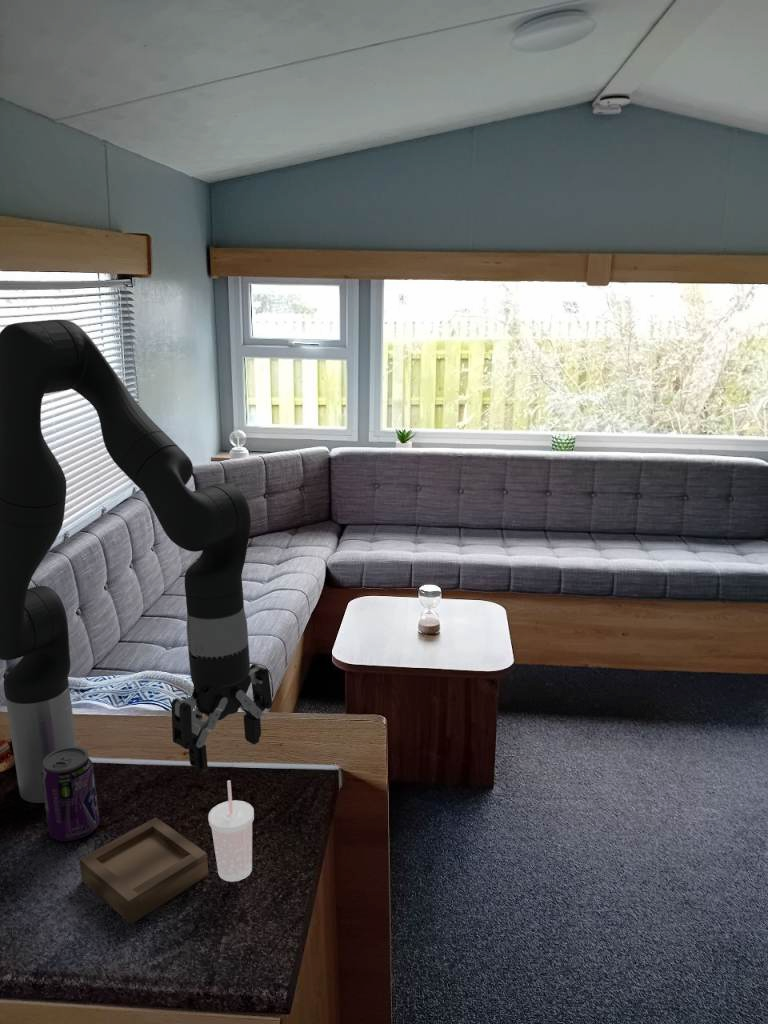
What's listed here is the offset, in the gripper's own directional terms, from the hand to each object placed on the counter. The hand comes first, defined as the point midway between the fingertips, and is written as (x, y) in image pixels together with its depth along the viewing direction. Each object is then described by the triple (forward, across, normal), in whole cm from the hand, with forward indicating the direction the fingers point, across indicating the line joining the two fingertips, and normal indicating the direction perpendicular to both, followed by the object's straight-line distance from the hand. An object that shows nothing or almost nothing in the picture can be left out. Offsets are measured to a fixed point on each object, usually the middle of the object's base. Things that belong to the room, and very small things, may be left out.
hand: (227, 755), depth 112 cm
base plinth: (+18, +9, -8) cm, 22 cm away
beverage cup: (+18, 0, 0) cm, 18 cm away
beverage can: (+18, +10, -25) cm, 33 cm away
